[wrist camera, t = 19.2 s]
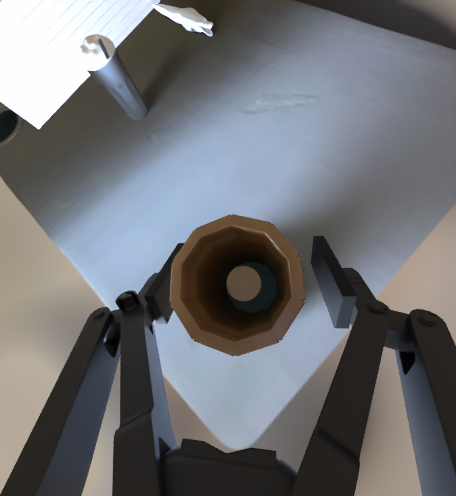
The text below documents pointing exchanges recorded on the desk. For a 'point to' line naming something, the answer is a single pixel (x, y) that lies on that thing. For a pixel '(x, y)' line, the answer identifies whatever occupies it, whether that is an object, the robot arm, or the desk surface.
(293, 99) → the desk surface
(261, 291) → the holder
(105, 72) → the milkshake
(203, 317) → the tube
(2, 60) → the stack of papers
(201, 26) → the white tapered spindle
